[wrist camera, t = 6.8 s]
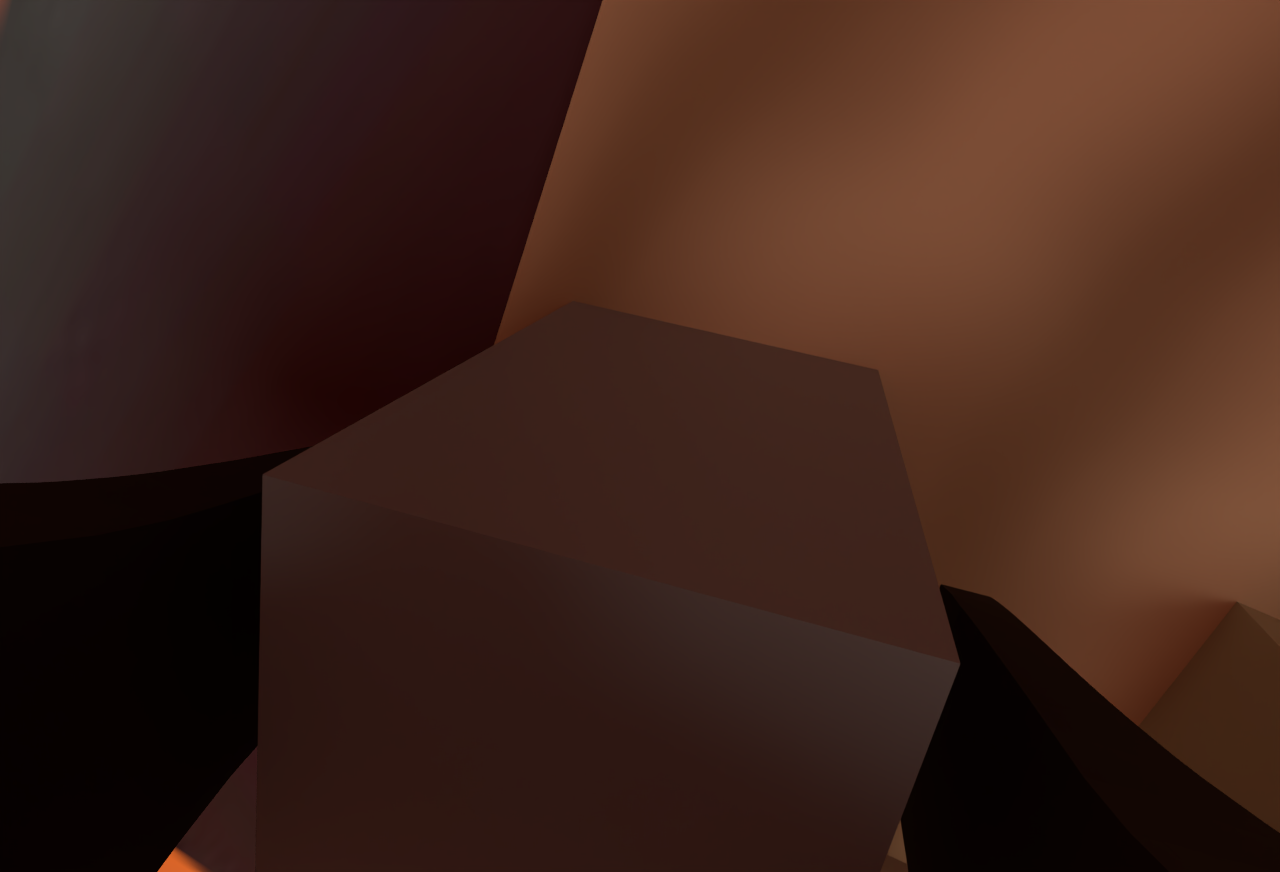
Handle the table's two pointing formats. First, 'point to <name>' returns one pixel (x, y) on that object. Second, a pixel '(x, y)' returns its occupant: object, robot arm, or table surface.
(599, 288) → the shelf board
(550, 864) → the slate carton
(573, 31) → the table surface
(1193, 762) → the sage carton
